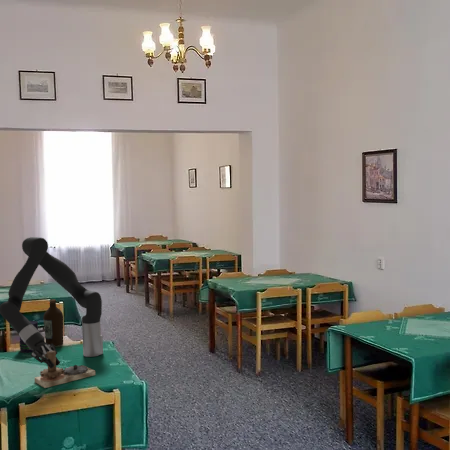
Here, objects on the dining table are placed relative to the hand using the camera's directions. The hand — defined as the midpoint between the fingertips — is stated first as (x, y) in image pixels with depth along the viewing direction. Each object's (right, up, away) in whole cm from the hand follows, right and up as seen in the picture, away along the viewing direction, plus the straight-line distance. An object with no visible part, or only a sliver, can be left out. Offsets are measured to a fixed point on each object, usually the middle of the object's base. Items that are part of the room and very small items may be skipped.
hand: (55, 365), depth 244 cm
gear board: (+3, -7, +5) cm, 9 cm away
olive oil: (-21, -5, +65) cm, 68 cm away
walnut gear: (-2, -4, +1) cm, 5 cm away
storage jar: (-31, -6, +53) cm, 62 cm away
